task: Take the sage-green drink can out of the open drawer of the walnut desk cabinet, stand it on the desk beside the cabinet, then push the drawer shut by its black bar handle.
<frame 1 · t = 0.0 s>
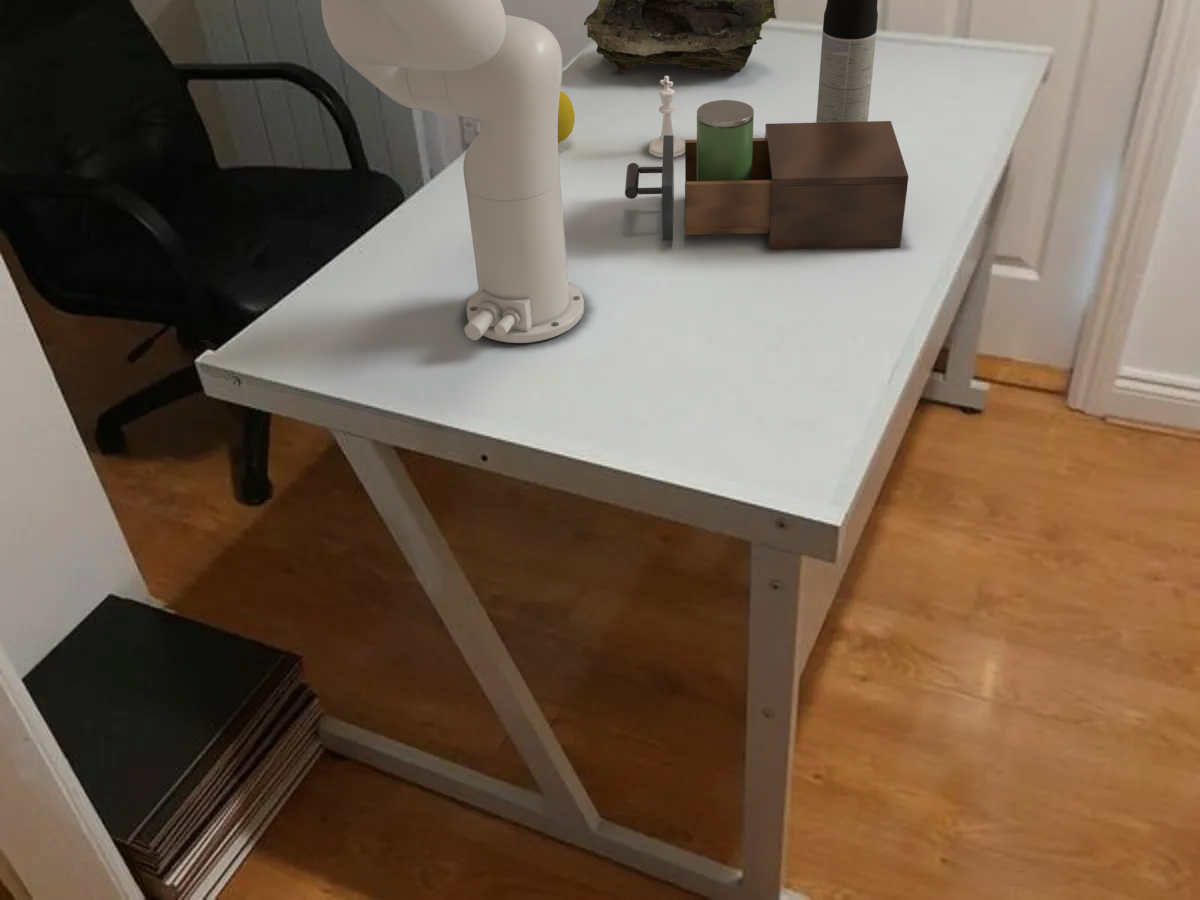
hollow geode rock: (681, 71, 184), on the table
chess piece: (667, 151, 162), on the table
lemon: (556, 146, 165), on the table
drawer: (702, 186, 143), point 4 cm above the table, slide at 11.0 cm, touching tin can
tin can: (723, 203, 145), point 2 cm above the table, touching drawer
cabinet: (828, 217, 145), on the table
spray can: (840, 143, 161), on the table
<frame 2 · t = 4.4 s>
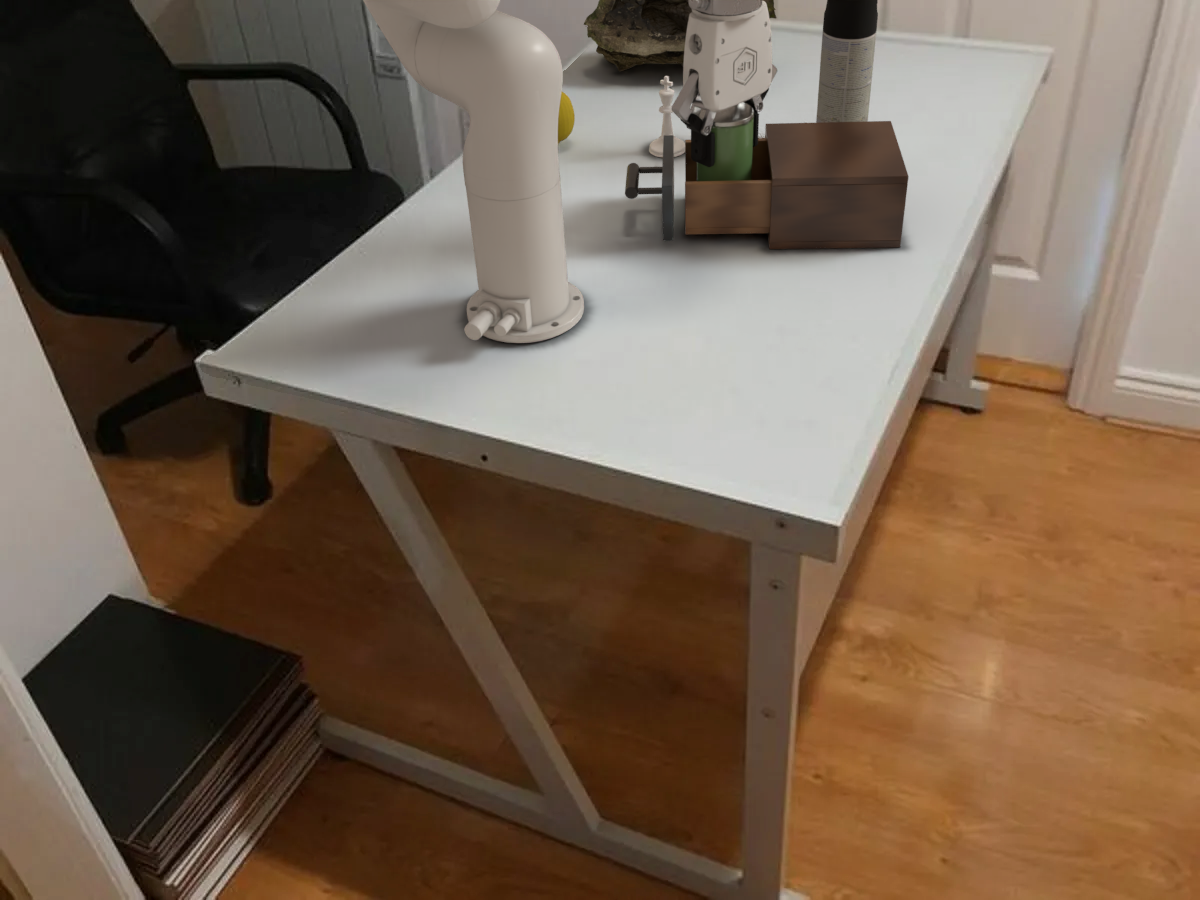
hand: (724, 151, 140), 9 cm above the table, tool pointing down, fingers closed on tin can, 6 cm apart
tin can: (723, 203, 145), point 2 cm above the table, touching drawer, gripper
everything else where it was.
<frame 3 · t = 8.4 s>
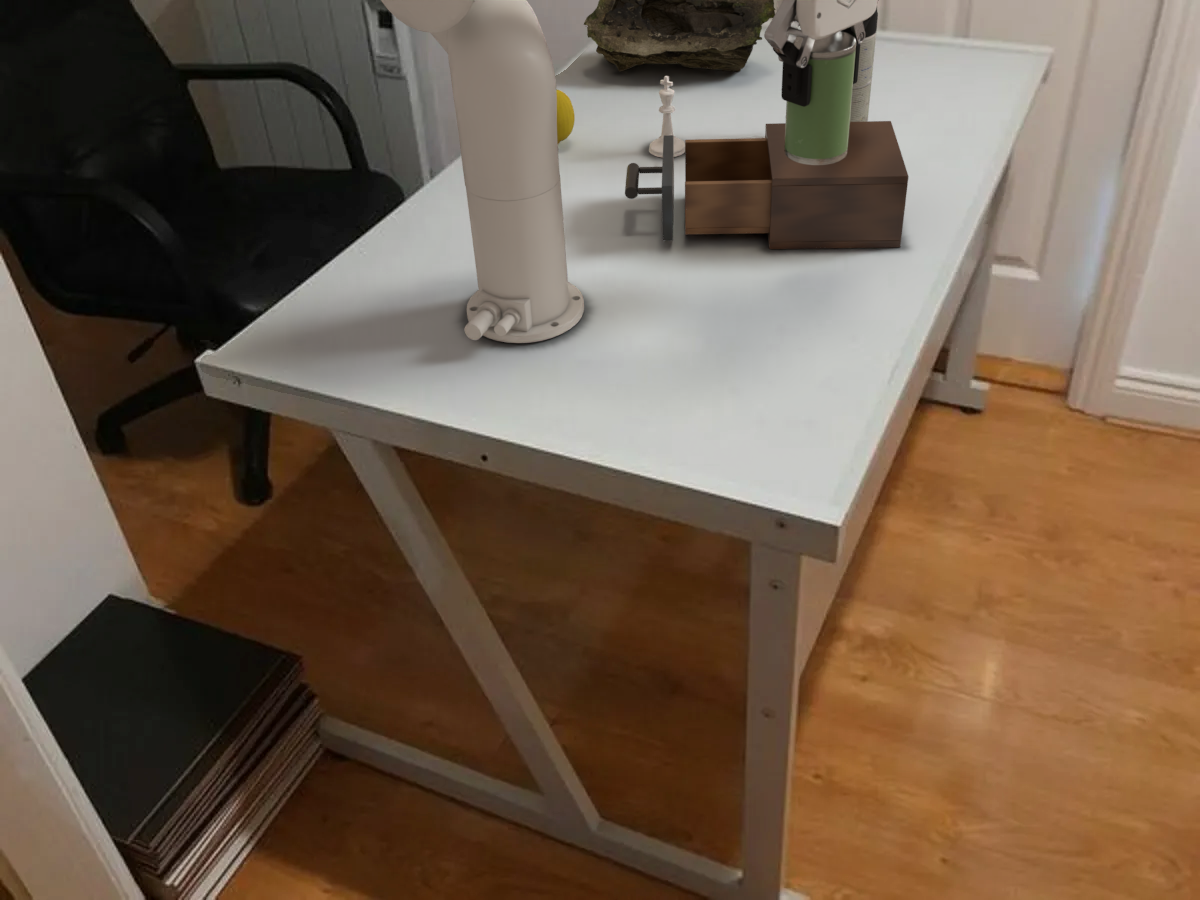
hand: (819, 89, 121), 21 cm above the table, tool pointing down, fingers closed on tin can, 6 cm apart
drawer: (702, 186, 143), point 4 cm above the table, slide at 11.0 cm
tin can: (815, 151, 125), point 15 cm above the table, touching gripper
everything else where it was.
when the fingers open (7 cm above the table, at t = 12.2 s): tin can stays where it is, on the table.
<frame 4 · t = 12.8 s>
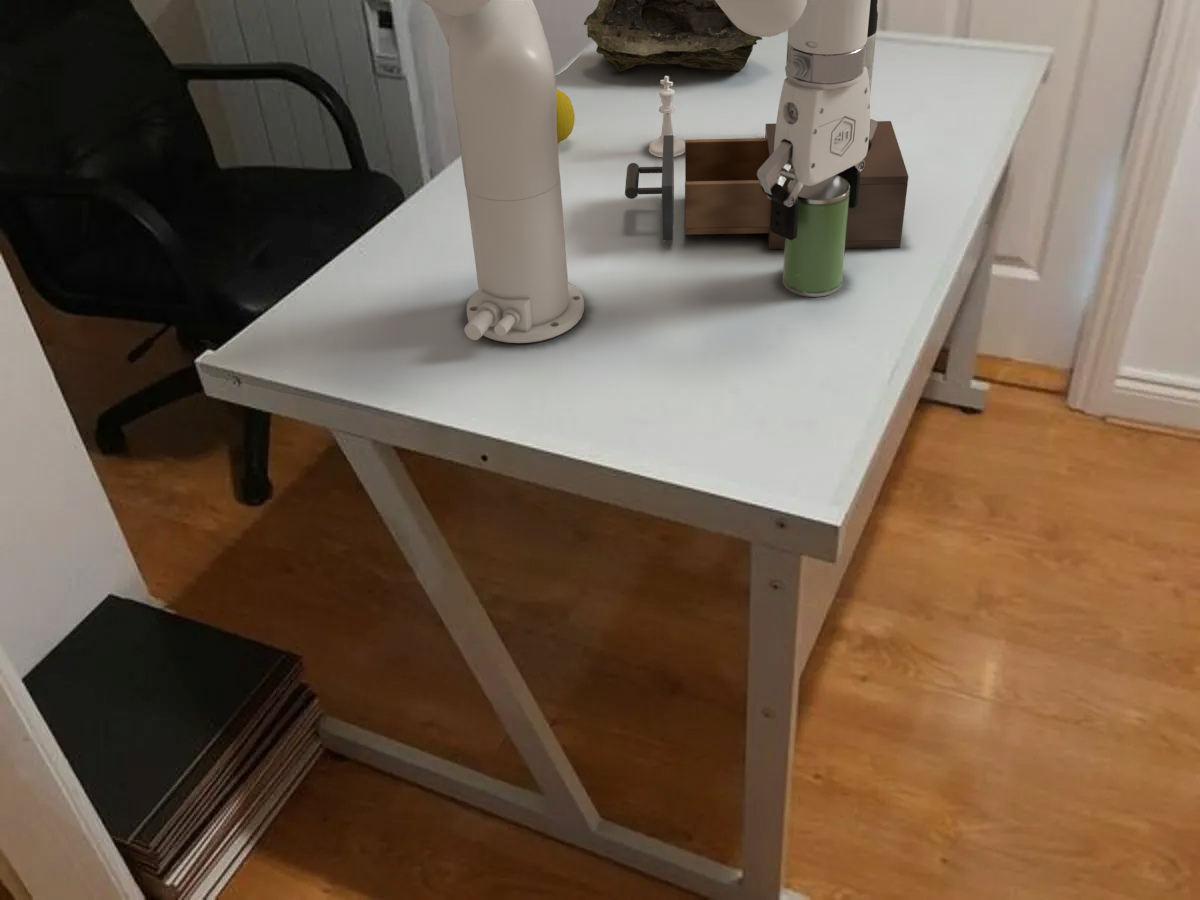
hand: (814, 219, 129), 8 cm above the table, tool pointing down, fingers open, 9 cm apart
tin can: (812, 282, 134), on the table
everything else where it was.
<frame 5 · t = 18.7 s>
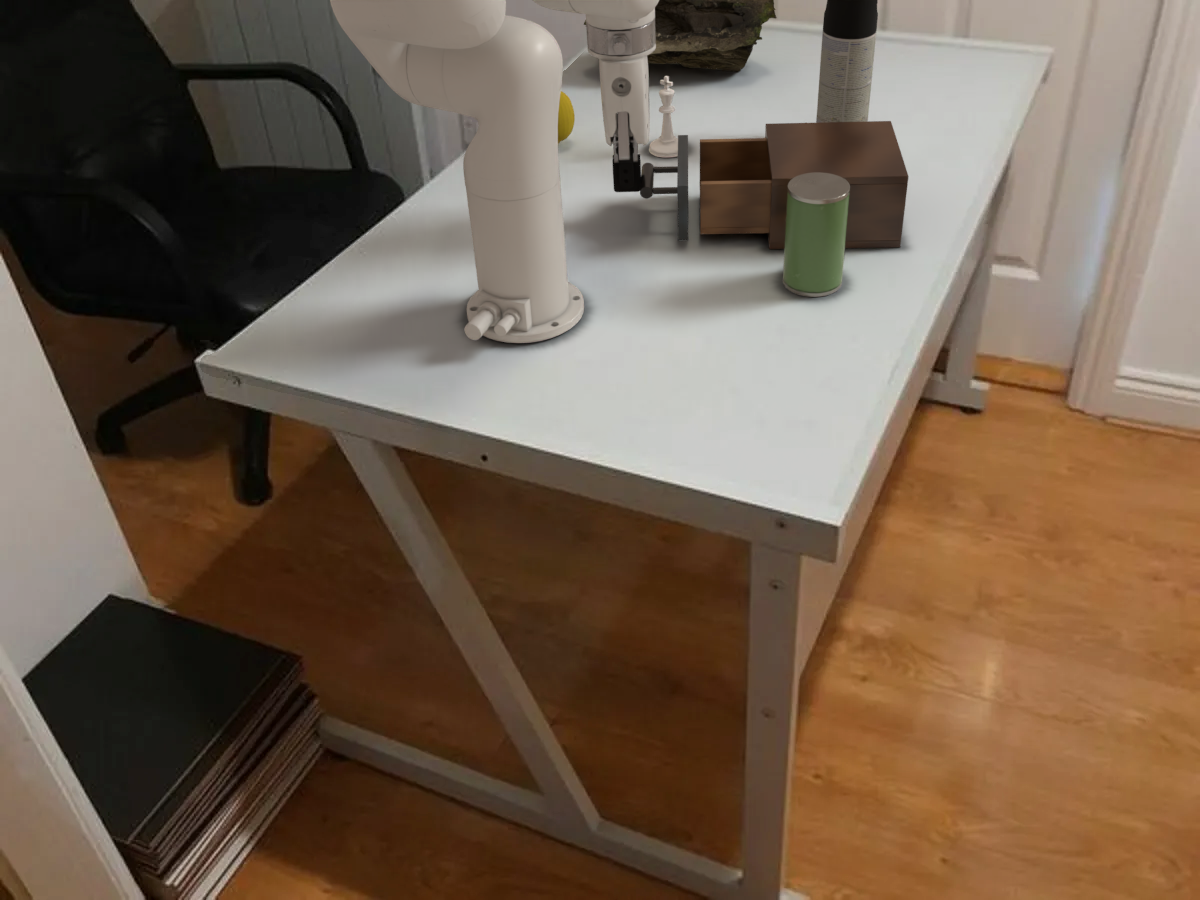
hand: (627, 188, 144), 4 cm above the table, tool pointing down, fingers closed
drawer: (717, 185, 143), point 4 cm above the table, slide at 9.2 cm
everything else where it was.
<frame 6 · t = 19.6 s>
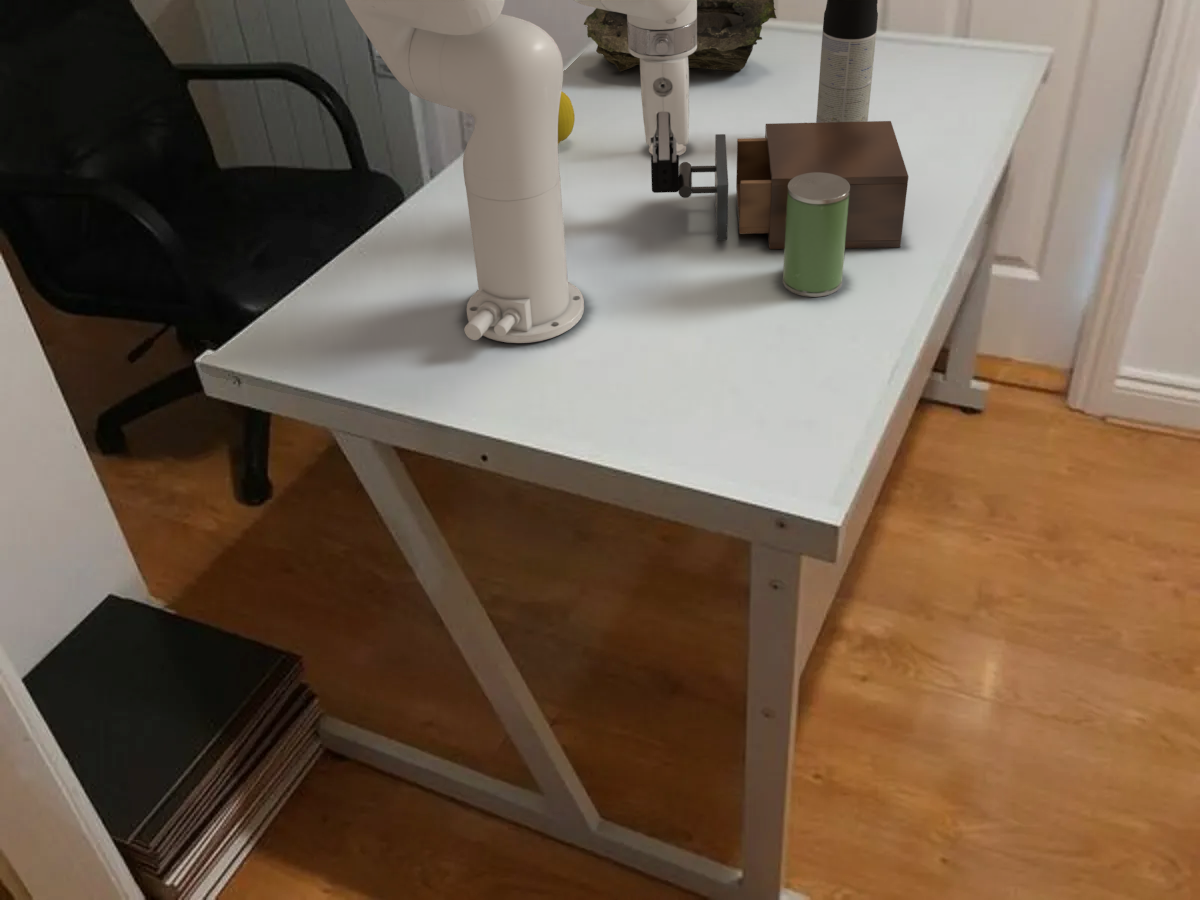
hand: (665, 189, 144), 4 cm above the table, tool pointing down, fingers closed
drawer: (755, 185, 143), point 4 cm above the table, slide at 4.8 cm, touching gripper
everything else where it was.
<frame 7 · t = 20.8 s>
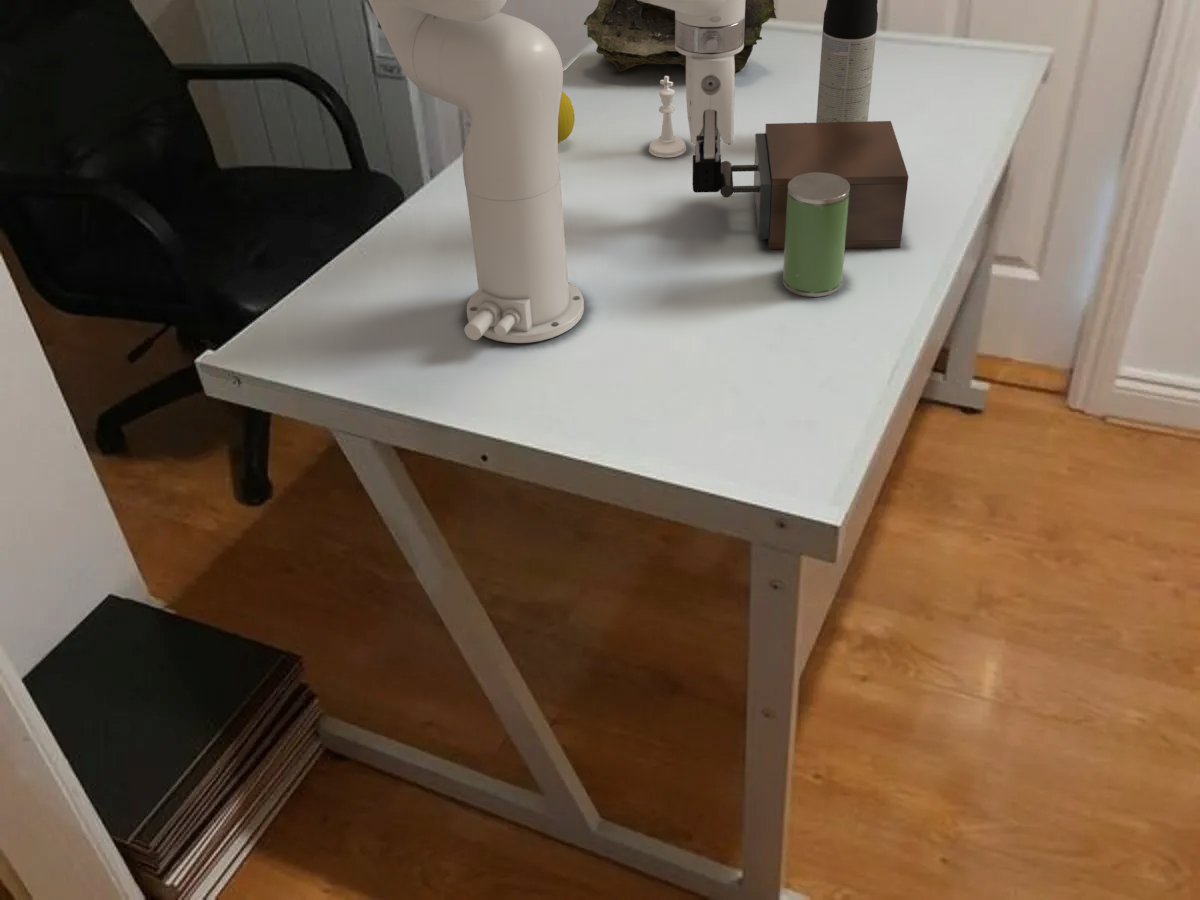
hand: (706, 189, 144), 4 cm above the table, tool pointing down, fingers closed
drawer: (796, 184, 142), point 4 cm above the table, slide at 0.0 cm, touching cabinet, gripper
everything else where it was.
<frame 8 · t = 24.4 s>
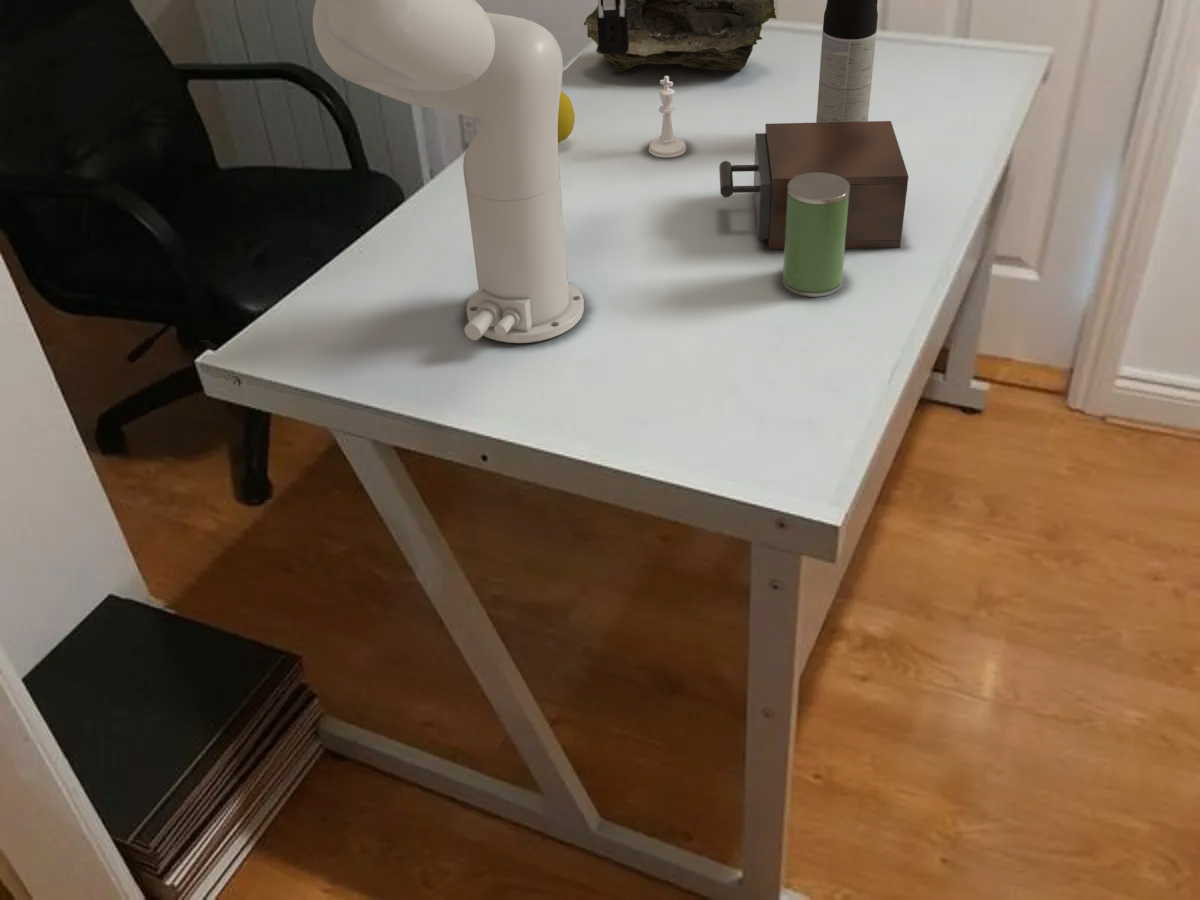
hand: (614, 50, 133), 21 cm above the table, tool pointing down, fingers closed
drawer: (796, 184, 142), point 4 cm above the table, slide at 0.0 cm, touching cabinet
everything else where it was.
at the end: tin can inside the target area (0.2 cm from its centre), on the table; tin can tilted 0°; drawer slide at 0.0 cm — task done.
